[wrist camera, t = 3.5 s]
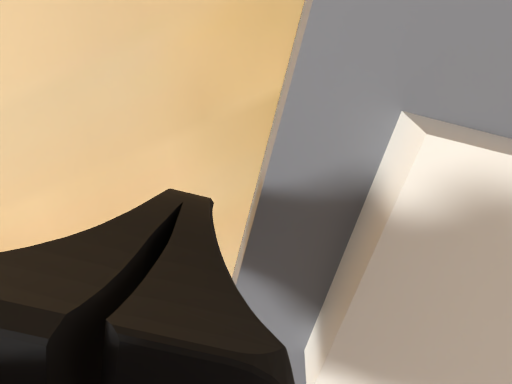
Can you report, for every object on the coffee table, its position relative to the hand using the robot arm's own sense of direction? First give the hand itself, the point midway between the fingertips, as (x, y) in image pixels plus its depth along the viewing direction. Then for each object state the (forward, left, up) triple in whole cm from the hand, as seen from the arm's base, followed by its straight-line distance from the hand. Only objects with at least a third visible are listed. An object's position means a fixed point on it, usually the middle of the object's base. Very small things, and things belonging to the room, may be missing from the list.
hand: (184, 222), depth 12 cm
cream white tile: (0, -8, -1) cm, 8 cm away
